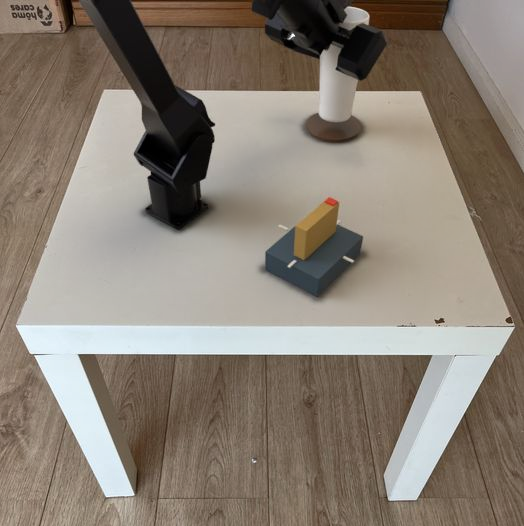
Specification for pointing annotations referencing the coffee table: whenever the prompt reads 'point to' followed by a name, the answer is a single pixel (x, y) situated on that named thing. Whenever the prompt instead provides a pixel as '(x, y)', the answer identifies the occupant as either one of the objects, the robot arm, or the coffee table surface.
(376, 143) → the coffee table surface
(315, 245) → the tap handle
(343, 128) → the coaster
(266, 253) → the base
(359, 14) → the drinking glass
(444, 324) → the coffee table surface
